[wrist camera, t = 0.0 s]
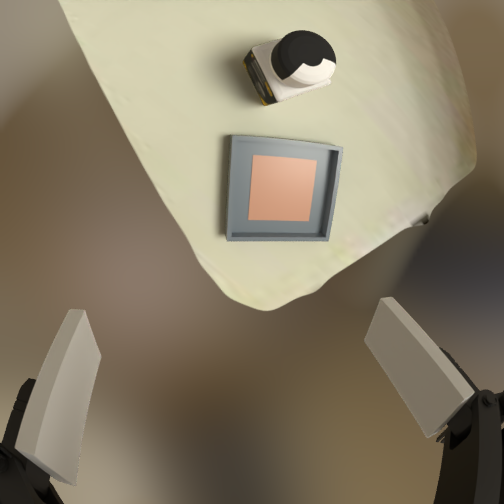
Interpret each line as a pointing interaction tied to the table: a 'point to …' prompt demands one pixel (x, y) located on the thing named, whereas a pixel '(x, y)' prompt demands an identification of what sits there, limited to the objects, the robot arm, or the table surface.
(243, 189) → the tray
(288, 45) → the medicine bottle
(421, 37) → the table surface
